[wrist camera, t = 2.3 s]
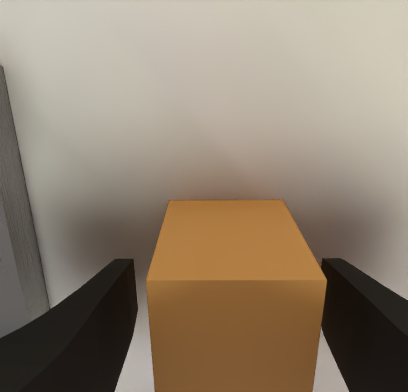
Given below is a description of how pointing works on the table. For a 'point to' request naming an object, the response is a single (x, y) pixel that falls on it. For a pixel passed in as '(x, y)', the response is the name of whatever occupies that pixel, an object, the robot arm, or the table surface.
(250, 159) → the table surface
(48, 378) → the robot arm
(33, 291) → the base
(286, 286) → the orange cube
